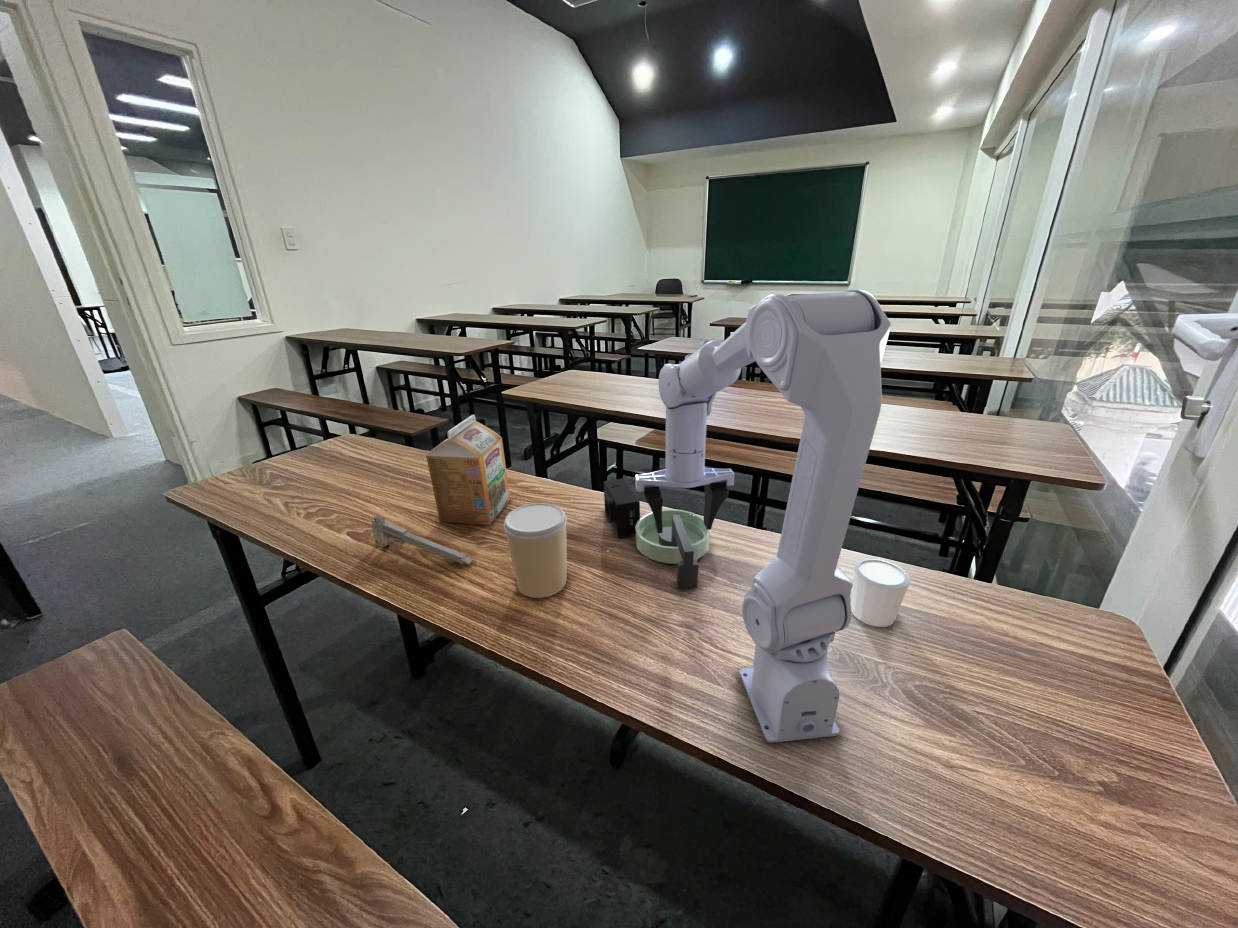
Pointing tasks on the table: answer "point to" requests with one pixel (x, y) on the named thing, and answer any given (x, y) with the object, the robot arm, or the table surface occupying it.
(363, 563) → the table surface
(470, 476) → the milk carton
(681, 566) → the grey lever handle
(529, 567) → the cream lidded canister
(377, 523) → the caliper
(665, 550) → the bowl
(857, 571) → the white round tub
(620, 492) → the digital camera
